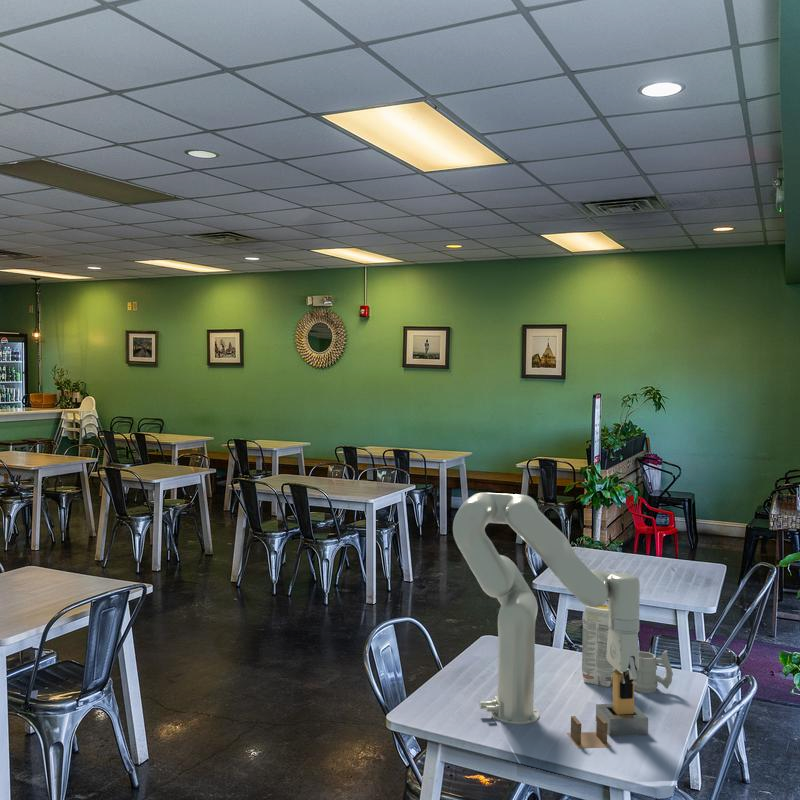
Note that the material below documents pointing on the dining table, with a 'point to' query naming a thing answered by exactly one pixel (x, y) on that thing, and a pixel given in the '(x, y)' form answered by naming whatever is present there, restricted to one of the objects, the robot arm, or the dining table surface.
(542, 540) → the robot arm
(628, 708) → the plug
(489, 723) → the dining table surface
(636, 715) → the port block
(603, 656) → the juice carton
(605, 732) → the tan u-shaped piece
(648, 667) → the mug
